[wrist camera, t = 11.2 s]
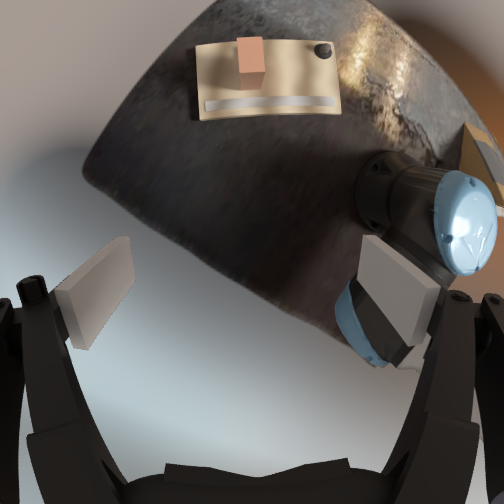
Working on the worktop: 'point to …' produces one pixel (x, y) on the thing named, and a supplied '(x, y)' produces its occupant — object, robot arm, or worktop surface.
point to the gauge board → (269, 80)
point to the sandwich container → (482, 162)
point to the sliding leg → (251, 62)
